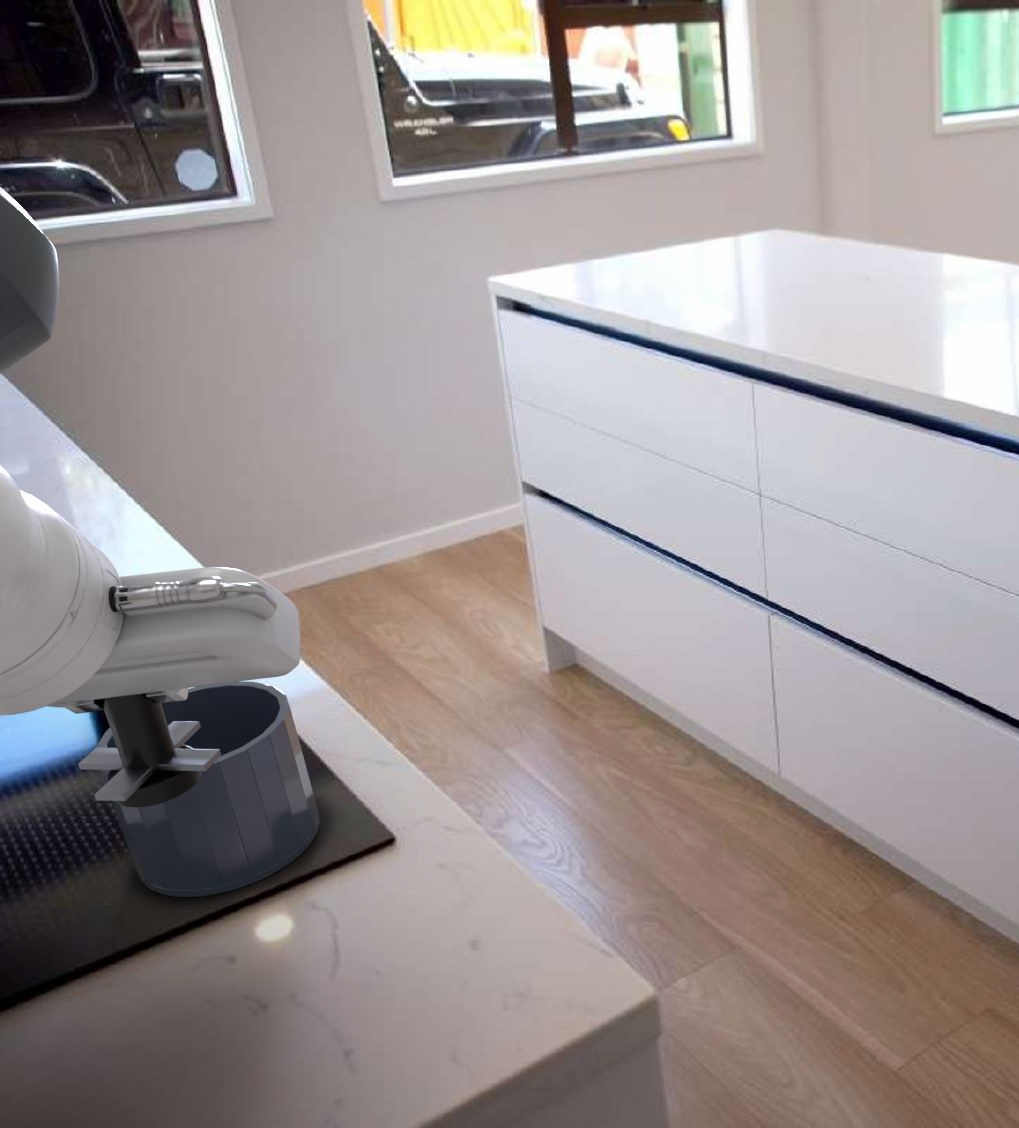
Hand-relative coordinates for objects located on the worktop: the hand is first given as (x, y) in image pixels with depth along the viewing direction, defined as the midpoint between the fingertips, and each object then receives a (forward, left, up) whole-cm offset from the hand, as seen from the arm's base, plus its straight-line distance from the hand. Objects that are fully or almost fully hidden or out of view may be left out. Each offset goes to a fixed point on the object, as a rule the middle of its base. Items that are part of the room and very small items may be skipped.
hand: (133, 692), depth 68 cm
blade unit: (0, -1, -5) cm, 5 cm away
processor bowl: (-11, +10, -19) cm, 24 cm away
